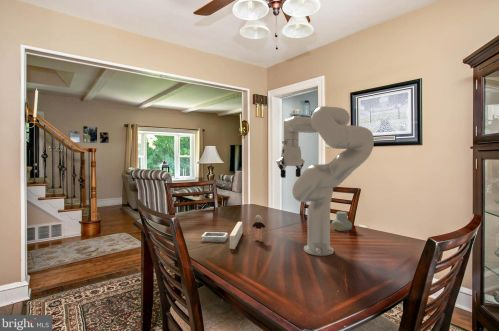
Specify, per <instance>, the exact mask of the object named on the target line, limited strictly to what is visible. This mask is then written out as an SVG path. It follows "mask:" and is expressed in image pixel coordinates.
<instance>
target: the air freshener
mask: <svg viewBox="0 0 499 331" xmlns="http://www.w3.org/2000/svg"><path fill="white" fill-rule="evenodd" d="M331 226H332V228H333V229H334V230H336V231H338V232H348V231H350V230H352V228H353V223H352V222H351V220H348V212H346V211H337V212H336V219H334V220H332V222H331Z"/></svg>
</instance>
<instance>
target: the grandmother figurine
mask: <svg viewBox="0 0 499 331" xmlns="http://www.w3.org/2000/svg"><path fill="white" fill-rule="evenodd" d="M262 220H263V217H262V216H261V215H259V214H257V215H255V222H254V223H253V224H252V226H251V230H252V231H254V239H253V240H252V241H253V242H262V241H263V229H264V231H267V227H266V225H265V224H264V223H263V222H262Z"/></svg>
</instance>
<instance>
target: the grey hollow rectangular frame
mask: <svg viewBox="0 0 499 331" xmlns="http://www.w3.org/2000/svg"><path fill="white" fill-rule="evenodd" d="M228 236H229V233H228V232H219V231H217V232H215V231H213V232H212V231H211V232H210V231H205V232H204V233H203V234H202V235H201V239H200V240H201V242H203V243H205V242H207V243H213V242H214V243H226V242H227V240H228V238H229V237H228Z"/></svg>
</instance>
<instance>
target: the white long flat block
mask: <svg viewBox="0 0 499 331" xmlns="http://www.w3.org/2000/svg"><path fill="white" fill-rule="evenodd" d="M242 234H243V221H238V222H237V223H236V224H235V226H234V227H233V230H232V231H231V233H230V234H229V250H230V249H231V250H235V249H236V248H237V245H238V243H239V241H240V239H241V236H242Z"/></svg>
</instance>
